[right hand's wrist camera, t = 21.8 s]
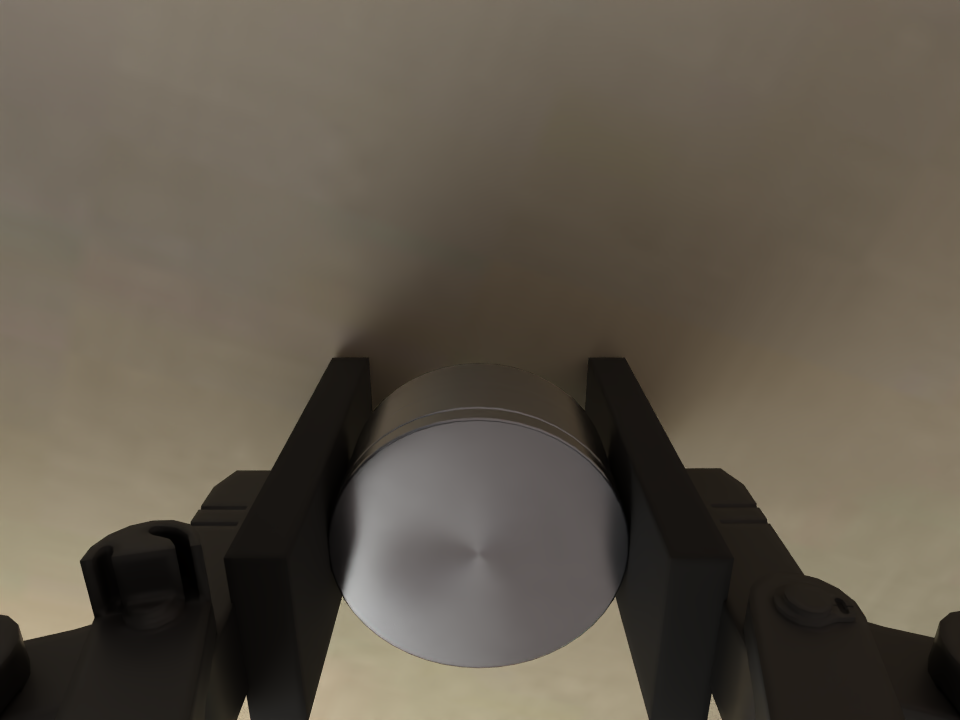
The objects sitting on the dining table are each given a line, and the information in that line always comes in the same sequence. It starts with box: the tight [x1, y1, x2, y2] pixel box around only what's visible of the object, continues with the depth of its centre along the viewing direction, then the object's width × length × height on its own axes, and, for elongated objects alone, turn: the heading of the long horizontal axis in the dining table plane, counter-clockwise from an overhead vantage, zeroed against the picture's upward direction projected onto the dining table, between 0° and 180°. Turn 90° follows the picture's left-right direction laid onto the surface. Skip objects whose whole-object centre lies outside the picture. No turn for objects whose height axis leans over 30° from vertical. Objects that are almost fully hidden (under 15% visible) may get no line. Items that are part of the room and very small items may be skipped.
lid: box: [328, 363, 630, 668], centre depth 11 cm, size 5×5×2 cm
